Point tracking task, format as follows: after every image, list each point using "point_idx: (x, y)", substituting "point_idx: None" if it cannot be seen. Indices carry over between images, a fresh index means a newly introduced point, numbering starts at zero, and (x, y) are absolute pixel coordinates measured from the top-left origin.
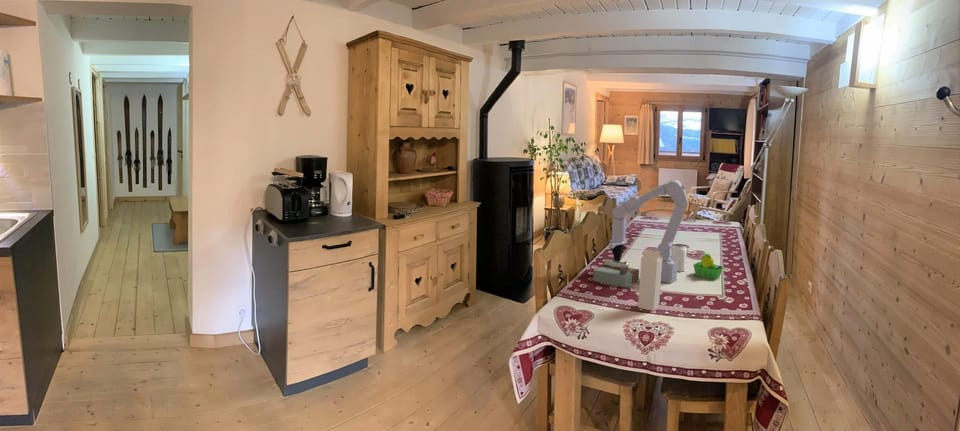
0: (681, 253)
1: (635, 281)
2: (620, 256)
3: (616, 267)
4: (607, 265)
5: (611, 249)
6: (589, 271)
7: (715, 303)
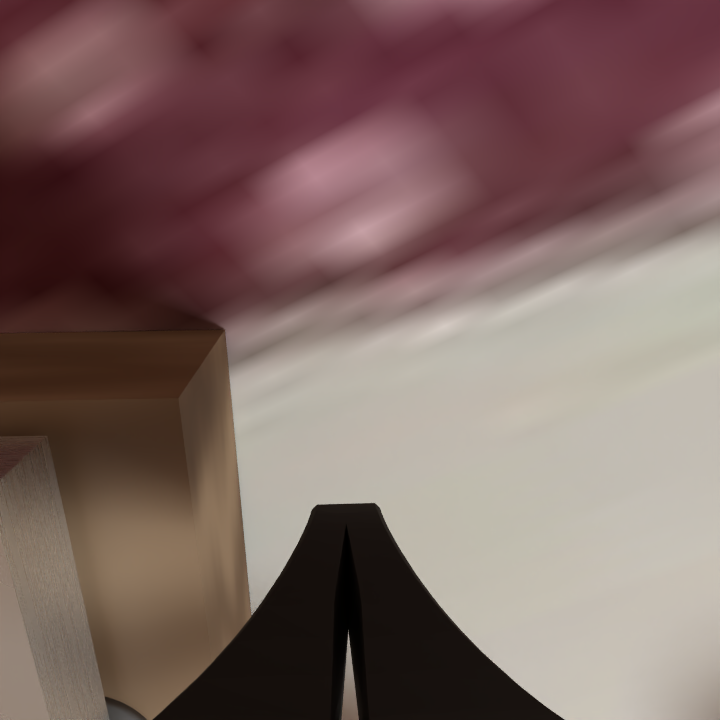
0: None
1: None
2: (358, 691)
3: None
4: None
5: (163, 709)
6: (151, 4)
7: None
